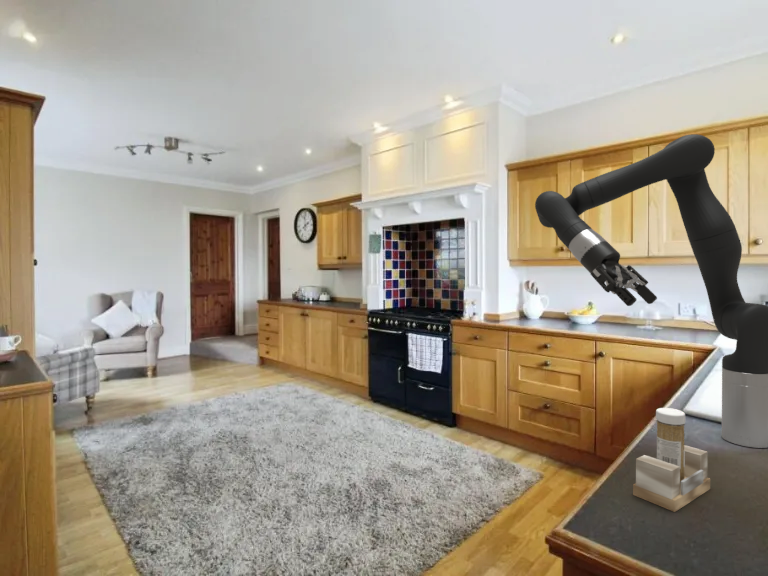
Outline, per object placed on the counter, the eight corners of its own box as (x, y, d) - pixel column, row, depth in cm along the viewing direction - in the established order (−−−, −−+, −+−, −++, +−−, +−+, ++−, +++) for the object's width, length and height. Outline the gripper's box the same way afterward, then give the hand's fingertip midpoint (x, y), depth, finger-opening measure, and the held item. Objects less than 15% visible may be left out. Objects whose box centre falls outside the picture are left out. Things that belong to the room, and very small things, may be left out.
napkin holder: (669, 474, 88) (669, 440, 87) (710, 488, 82) (710, 452, 82) (633, 494, 80) (633, 457, 80) (674, 512, 74) (674, 472, 74)
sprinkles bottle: (689, 482, 80) (689, 411, 80) (678, 490, 78) (678, 416, 77) (662, 473, 84) (662, 405, 84) (651, 480, 81) (651, 410, 81)
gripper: (586, 239, 97) (639, 291, 87) (620, 240, 104) (672, 289, 95) (565, 263, 101) (613, 316, 92) (599, 263, 109) (647, 311, 100)
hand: (643, 302), depth 94 cm, fingers open, 8 cm apart
